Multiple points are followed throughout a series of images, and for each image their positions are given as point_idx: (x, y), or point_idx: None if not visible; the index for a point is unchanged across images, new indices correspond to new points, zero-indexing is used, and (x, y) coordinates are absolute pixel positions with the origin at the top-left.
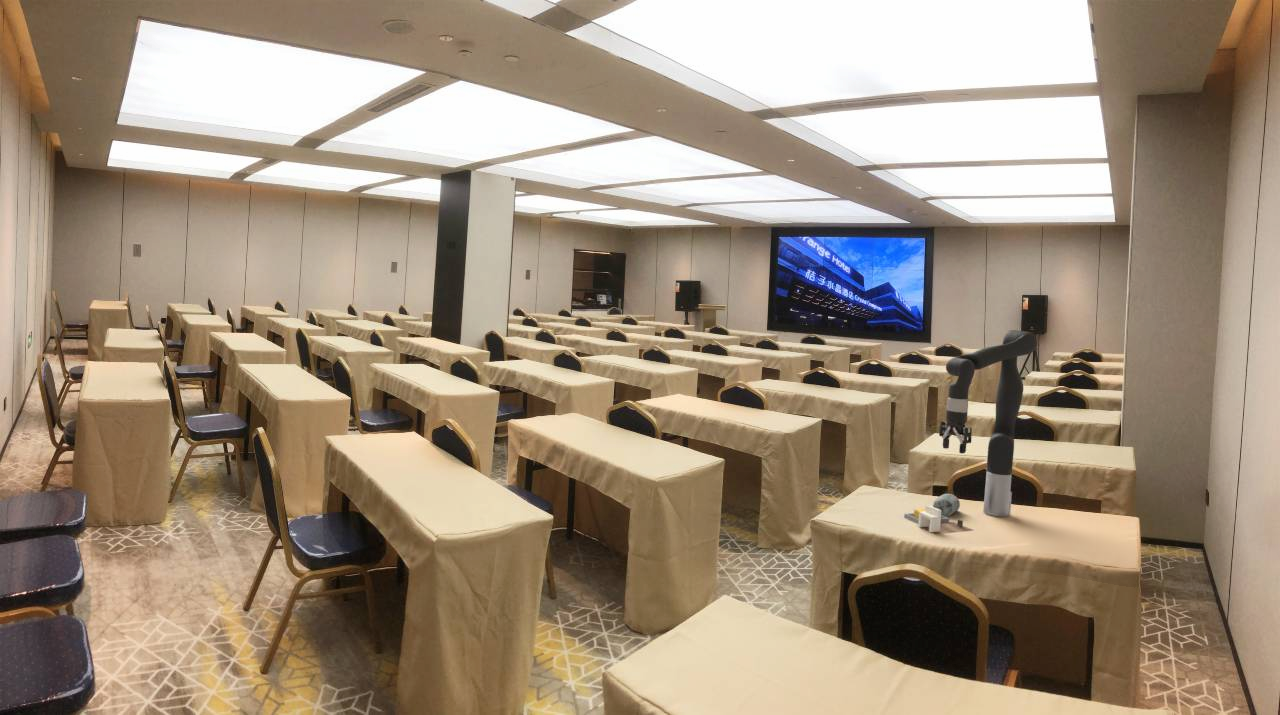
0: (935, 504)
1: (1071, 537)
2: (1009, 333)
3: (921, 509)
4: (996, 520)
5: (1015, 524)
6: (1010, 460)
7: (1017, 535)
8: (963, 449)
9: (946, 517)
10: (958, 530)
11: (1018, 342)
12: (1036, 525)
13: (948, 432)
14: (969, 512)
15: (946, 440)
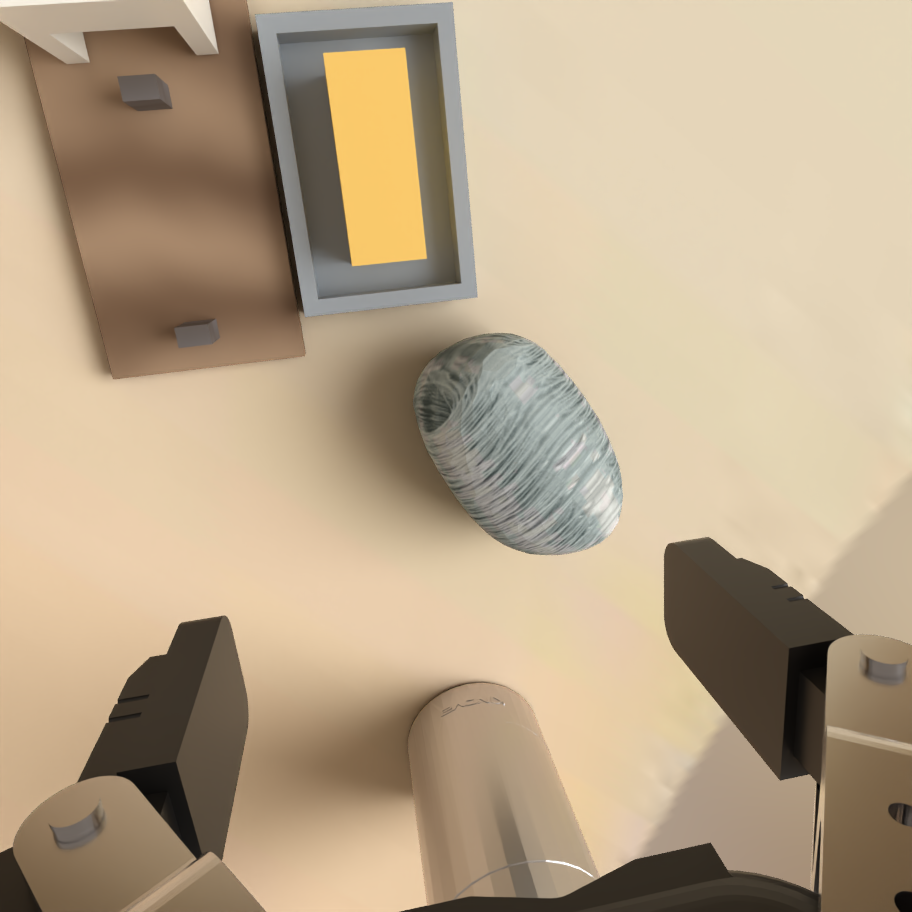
0: (498, 334)
1: None
2: None
3: (396, 118)
4: (355, 671)
5: (274, 732)
6: None
7: (66, 625)
8: (118, 715)
9: (326, 309)
10: (105, 254)
11: None
12: (249, 828)
13: (821, 871)
14: (518, 605)
15: (766, 677)
